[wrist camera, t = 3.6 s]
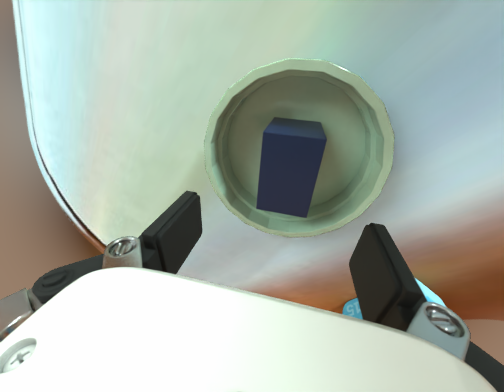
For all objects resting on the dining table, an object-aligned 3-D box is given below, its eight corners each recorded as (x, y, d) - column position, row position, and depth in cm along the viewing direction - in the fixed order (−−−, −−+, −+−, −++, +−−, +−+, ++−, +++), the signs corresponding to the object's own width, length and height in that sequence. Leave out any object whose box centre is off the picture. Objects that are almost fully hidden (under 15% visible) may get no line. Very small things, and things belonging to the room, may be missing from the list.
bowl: (408, 69, 17) (438, 67, 13) (346, 224, 25) (353, 250, 21) (218, 57, 19) (197, 52, 15) (221, 201, 28) (208, 221, 24)
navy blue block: (320, 121, 20) (327, 139, 14) (306, 185, 23) (306, 218, 18) (274, 116, 20) (262, 131, 15) (266, 179, 24) (255, 209, 18)
